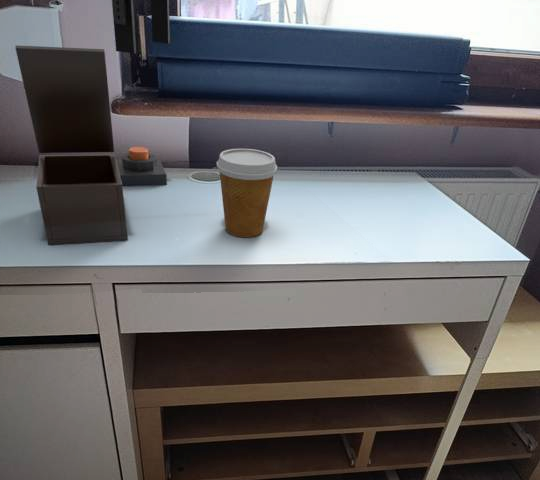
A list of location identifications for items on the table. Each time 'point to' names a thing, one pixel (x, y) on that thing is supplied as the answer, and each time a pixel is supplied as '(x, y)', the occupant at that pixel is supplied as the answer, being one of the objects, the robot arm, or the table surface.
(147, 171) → the block
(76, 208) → the dark brown box
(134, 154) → the button
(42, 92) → the grey box lid
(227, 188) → the disposable coffee cup
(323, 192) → the table surface
